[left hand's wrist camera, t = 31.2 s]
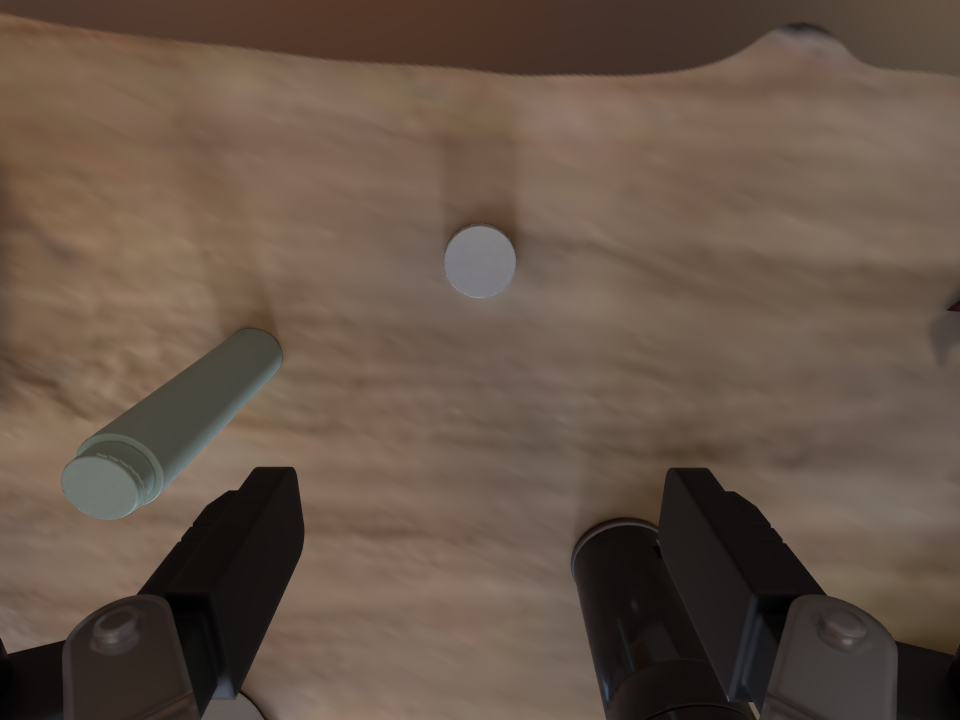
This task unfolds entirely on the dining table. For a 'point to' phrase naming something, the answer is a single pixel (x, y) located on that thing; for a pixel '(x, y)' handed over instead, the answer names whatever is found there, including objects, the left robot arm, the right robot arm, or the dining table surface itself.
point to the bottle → (168, 428)
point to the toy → (955, 307)
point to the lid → (480, 260)
